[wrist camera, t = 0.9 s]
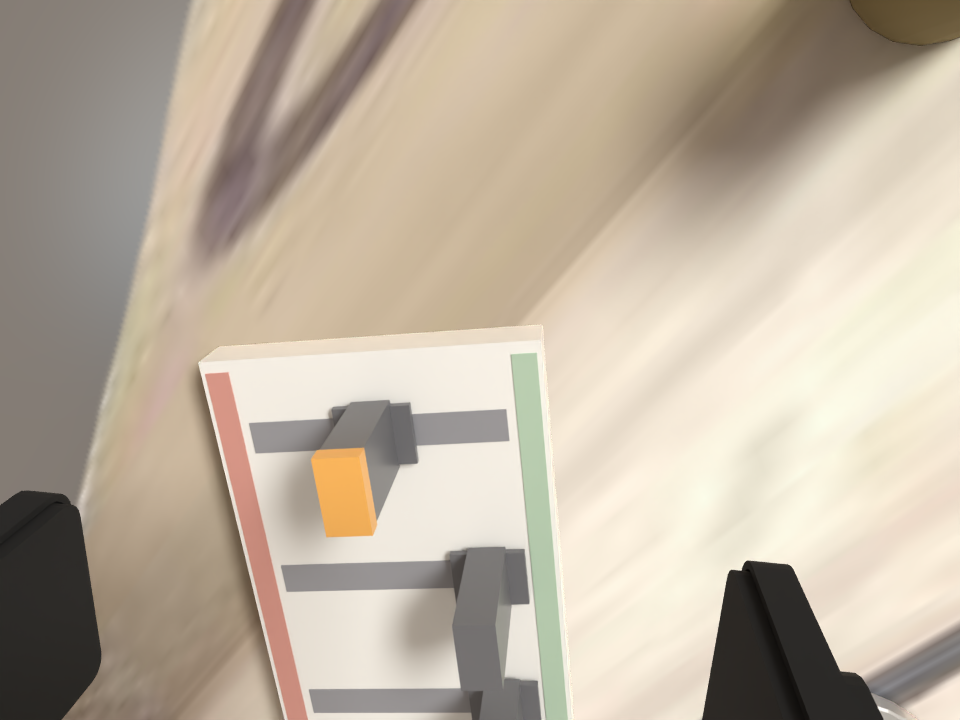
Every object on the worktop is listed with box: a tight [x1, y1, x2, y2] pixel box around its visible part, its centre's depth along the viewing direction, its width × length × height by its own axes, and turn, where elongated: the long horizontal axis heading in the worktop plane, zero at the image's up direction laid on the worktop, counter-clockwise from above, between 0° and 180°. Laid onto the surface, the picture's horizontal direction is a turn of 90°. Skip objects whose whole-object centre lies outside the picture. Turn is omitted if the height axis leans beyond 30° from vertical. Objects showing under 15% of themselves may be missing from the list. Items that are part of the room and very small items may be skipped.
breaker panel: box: [198, 324, 574, 720], centre depth 35 cm, size 14×21×2 cm, turn 6°
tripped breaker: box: [311, 400, 419, 537], centre depth 29 cm, size 3×3×5 cm
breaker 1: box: [450, 547, 530, 691], centre depth 31 cm, size 3×3×5 cm
